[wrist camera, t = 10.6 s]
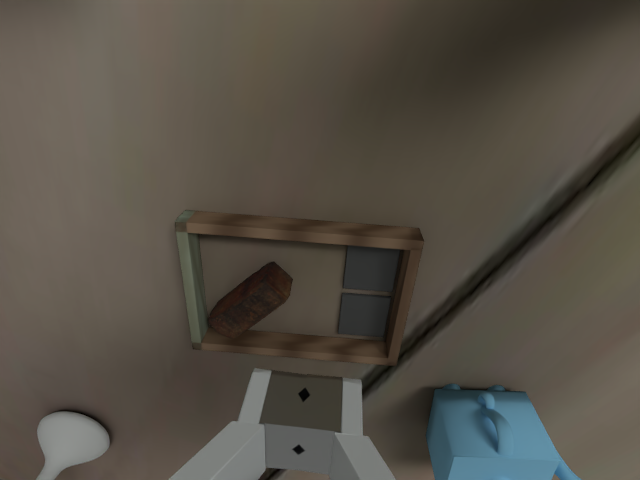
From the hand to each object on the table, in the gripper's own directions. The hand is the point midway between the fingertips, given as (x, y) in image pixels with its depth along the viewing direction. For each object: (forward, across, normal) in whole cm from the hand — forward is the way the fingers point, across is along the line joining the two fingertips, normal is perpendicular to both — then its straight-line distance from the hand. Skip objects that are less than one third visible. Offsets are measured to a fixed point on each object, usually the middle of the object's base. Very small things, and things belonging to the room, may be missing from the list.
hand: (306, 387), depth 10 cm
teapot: (+31, -25, +38) cm, 55 cm away
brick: (+30, +9, +20) cm, 37 cm away
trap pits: (+30, -5, +19) cm, 36 cm away
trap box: (+30, +4, +19) cm, 36 cm away
